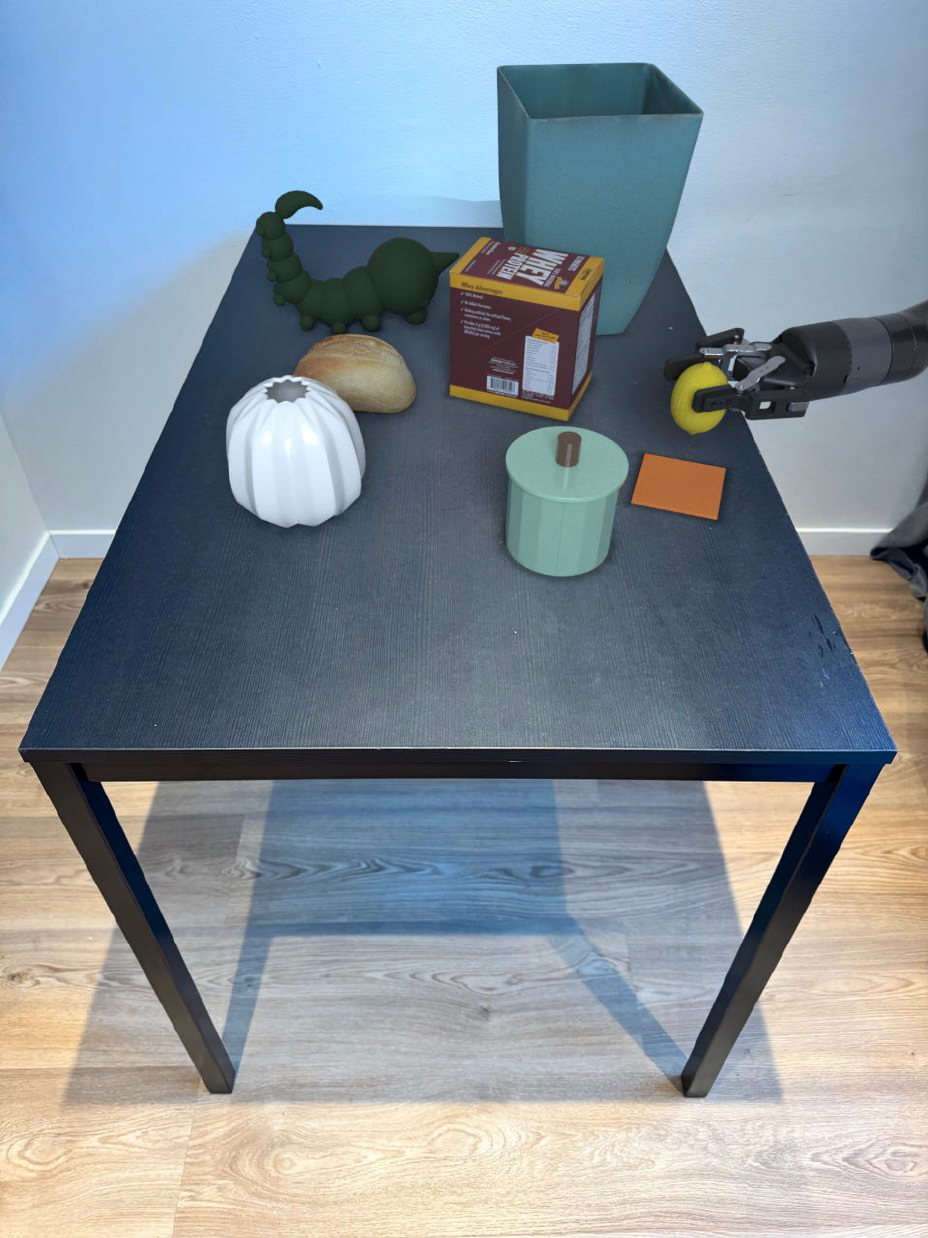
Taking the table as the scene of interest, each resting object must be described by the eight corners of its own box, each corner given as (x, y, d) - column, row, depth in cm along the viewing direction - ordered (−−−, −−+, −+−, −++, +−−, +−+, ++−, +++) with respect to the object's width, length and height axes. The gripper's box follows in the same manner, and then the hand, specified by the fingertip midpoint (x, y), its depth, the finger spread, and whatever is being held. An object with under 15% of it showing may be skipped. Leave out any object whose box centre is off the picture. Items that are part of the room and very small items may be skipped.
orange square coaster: (725, 471, 97) (725, 468, 97) (716, 520, 91) (717, 517, 91) (644, 456, 99) (644, 453, 99) (630, 503, 93) (631, 500, 93)
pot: (617, 520, 91) (631, 444, 84) (598, 586, 84) (611, 509, 77) (520, 501, 93) (526, 425, 86) (493, 563, 86) (497, 486, 79)
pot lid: (636, 447, 85) (642, 415, 82) (615, 519, 77) (620, 486, 75) (522, 426, 87) (524, 394, 84) (490, 494, 79) (492, 461, 77)
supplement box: (476, 356, 114) (480, 234, 103) (591, 380, 110) (607, 256, 99) (446, 395, 107) (446, 270, 96) (567, 422, 103) (582, 295, 92)
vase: (294, 563, 86) (275, 448, 76) (209, 501, 92) (182, 388, 82) (396, 500, 93) (390, 387, 83) (310, 447, 99) (296, 337, 90)
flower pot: (662, 348, 116) (707, 110, 96) (513, 358, 114) (528, 117, 93) (620, 281, 130) (652, 60, 109) (487, 288, 127) (495, 65, 107)
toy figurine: (284, 358, 116) (470, 330, 117) (248, 212, 102) (458, 182, 104) (283, 324, 122) (459, 298, 124) (248, 182, 109) (447, 155, 110)
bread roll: (295, 383, 109) (287, 323, 103) (416, 382, 109) (414, 322, 103) (288, 427, 102) (278, 365, 96) (416, 426, 102) (415, 364, 97)
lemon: (697, 413, 93) (713, 343, 87) (730, 440, 89) (748, 369, 84) (654, 426, 91) (667, 356, 85) (685, 454, 88) (701, 383, 82)
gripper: (800, 292, 91) (653, 315, 87) (886, 360, 81) (725, 389, 78) (781, 358, 96) (641, 382, 93) (860, 429, 87) (707, 459, 83)
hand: (680, 385), depth 85 cm, fingers closed on lemon, 5 cm apart
